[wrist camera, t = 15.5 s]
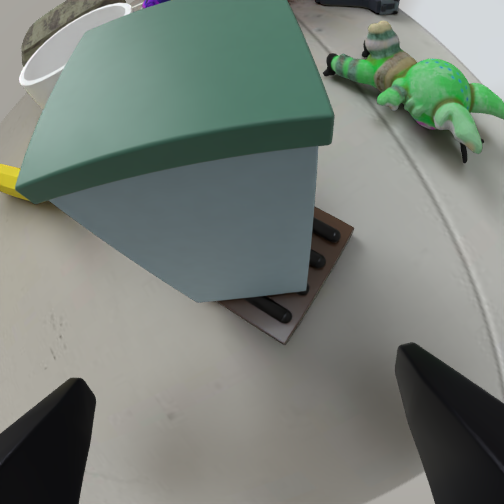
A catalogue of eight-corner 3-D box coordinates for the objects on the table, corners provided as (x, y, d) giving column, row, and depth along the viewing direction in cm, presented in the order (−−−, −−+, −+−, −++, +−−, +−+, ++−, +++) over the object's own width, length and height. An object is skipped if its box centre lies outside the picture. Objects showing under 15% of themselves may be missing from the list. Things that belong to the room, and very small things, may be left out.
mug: (66, 169, 25) (-1, 102, 15) (98, 94, 28) (54, 28, 18) (190, 152, 23) (138, 46, 13) (208, 72, 26) (178, -17, 17)
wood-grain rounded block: (157, 63, 29) (125, 7, 37) (128, -1, 20) (107, -32, 29) (48, 130, 28) (52, 50, 37) (4, 81, 20) (29, 16, 28)
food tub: (310, 294, 17) (335, 115, 4) (193, 306, 17) (12, 190, 5) (294, 189, 19) (277, -21, 7) (191, 204, 19) (84, 31, 7)
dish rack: (352, 233, 19) (356, 221, 18) (285, 345, 18) (283, 343, 16) (224, 168, 22) (218, 153, 20) (156, 259, 20) (144, 250, 19)
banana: (-1, 171, 28) (-33, 144, 22) (97, 191, 23) (52, 148, 17) (-12, 192, 27) (-45, 166, 21) (81, 223, 23) (32, 184, 17)
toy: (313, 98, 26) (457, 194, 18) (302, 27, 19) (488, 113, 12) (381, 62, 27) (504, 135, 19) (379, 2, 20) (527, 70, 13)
